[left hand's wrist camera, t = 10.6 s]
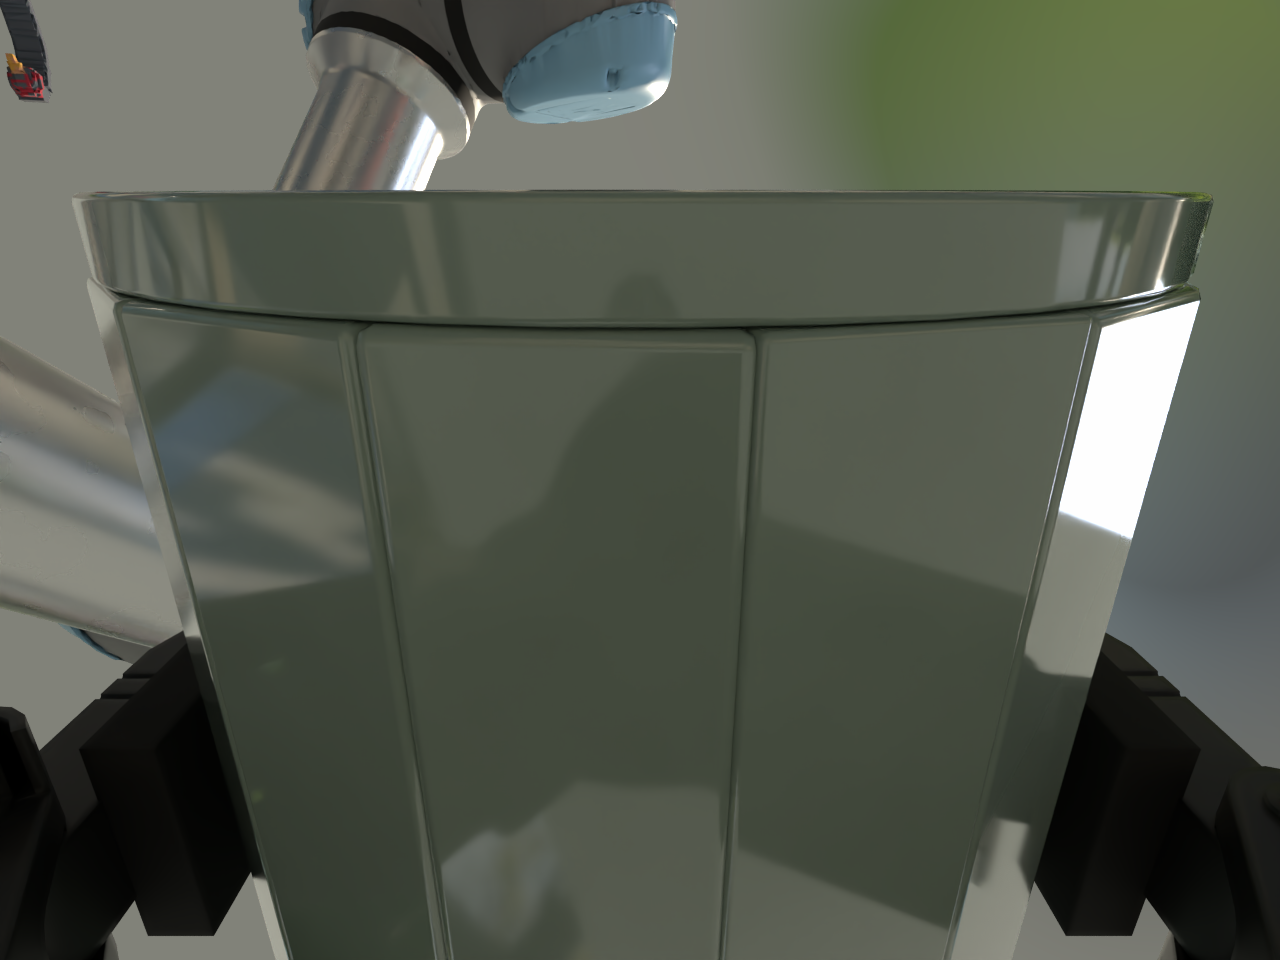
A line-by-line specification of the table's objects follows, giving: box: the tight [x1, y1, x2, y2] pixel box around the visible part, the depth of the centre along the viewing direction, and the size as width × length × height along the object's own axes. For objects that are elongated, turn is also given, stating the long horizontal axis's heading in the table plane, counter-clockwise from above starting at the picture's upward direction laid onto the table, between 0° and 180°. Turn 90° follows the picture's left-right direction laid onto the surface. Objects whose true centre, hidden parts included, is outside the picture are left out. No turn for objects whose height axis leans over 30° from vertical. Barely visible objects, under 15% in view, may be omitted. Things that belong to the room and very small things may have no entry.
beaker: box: [72, 190, 1213, 960], centre depth 10 cm, size 10×10×12 cm
